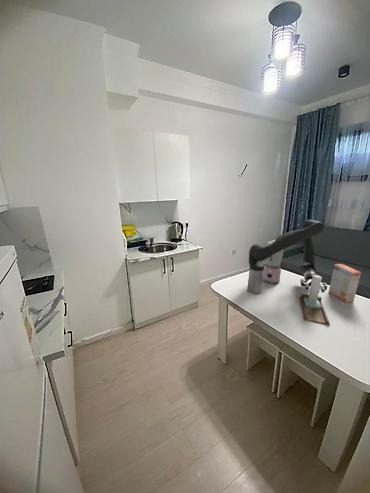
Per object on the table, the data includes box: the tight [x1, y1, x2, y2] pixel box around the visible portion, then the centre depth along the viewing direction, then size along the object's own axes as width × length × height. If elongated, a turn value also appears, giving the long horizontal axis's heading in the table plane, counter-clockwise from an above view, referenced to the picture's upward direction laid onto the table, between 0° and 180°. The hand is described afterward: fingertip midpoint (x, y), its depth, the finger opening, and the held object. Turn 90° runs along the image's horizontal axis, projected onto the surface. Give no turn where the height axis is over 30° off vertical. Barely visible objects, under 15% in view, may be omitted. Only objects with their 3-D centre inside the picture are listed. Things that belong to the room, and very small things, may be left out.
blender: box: [263, 239, 284, 285], centre depth 152 cm, size 16×12×32 cm
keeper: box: [304, 274, 323, 309], centre depth 122 cm, size 8×8×18 cm
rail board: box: [299, 293, 331, 326], centre depth 121 cm, size 12×24×4 cm, turn 157°
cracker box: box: [328, 263, 362, 304], centre depth 131 cm, size 14×6×21 cm, turn 4°
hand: (315, 290), depth 120 cm, fingers open, 7 cm apart
